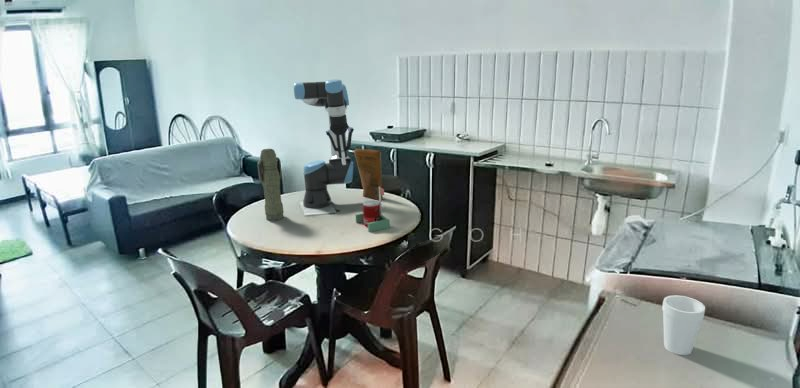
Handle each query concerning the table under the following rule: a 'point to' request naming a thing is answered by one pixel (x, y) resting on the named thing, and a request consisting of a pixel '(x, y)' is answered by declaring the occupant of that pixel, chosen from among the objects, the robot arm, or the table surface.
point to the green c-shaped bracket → (377, 225)
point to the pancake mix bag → (369, 171)
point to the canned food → (371, 212)
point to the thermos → (271, 183)
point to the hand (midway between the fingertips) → (344, 164)
